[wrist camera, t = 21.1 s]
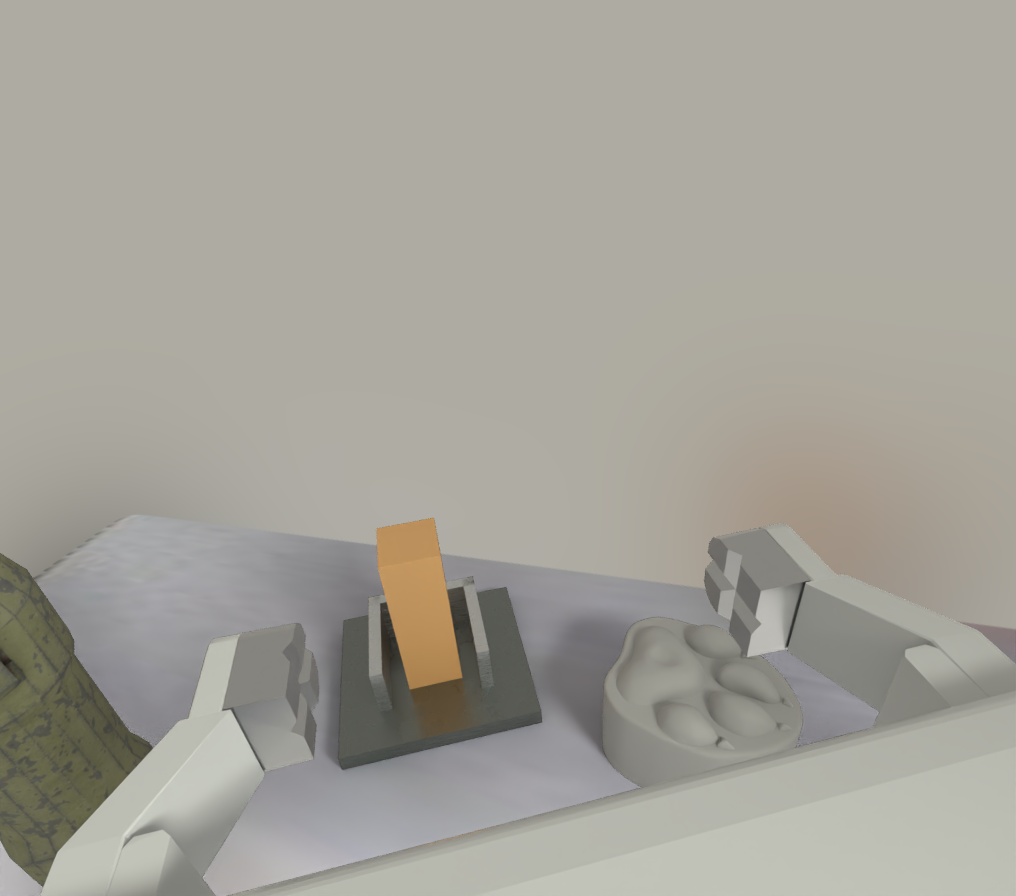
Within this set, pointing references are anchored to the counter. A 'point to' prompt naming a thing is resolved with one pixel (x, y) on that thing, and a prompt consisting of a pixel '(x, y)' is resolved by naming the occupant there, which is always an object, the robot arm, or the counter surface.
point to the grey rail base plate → (438, 707)
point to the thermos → (50, 730)
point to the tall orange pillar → (418, 602)
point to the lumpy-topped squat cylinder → (692, 703)
